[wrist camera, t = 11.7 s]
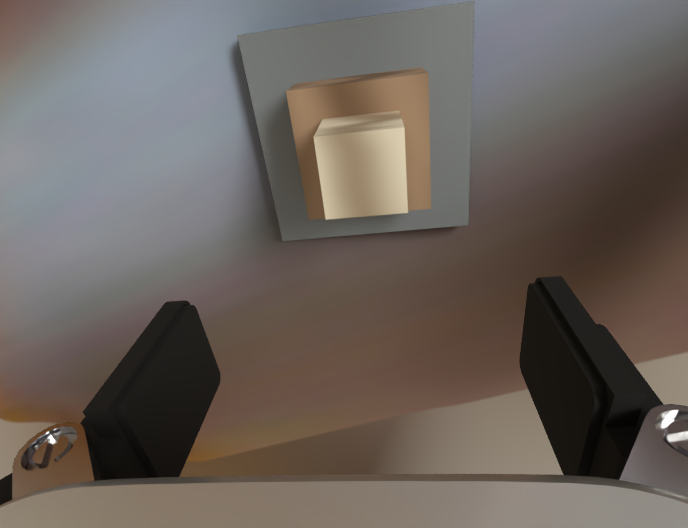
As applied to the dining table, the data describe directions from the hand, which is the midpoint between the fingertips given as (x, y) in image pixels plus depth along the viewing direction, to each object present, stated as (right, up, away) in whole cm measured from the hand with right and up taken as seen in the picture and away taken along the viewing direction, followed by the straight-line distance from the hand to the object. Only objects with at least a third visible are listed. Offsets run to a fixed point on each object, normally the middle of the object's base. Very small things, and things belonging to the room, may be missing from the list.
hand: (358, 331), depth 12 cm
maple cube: (+1, +9, +16) cm, 19 cm away
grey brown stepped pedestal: (+1, +12, +21) cm, 25 cm away
